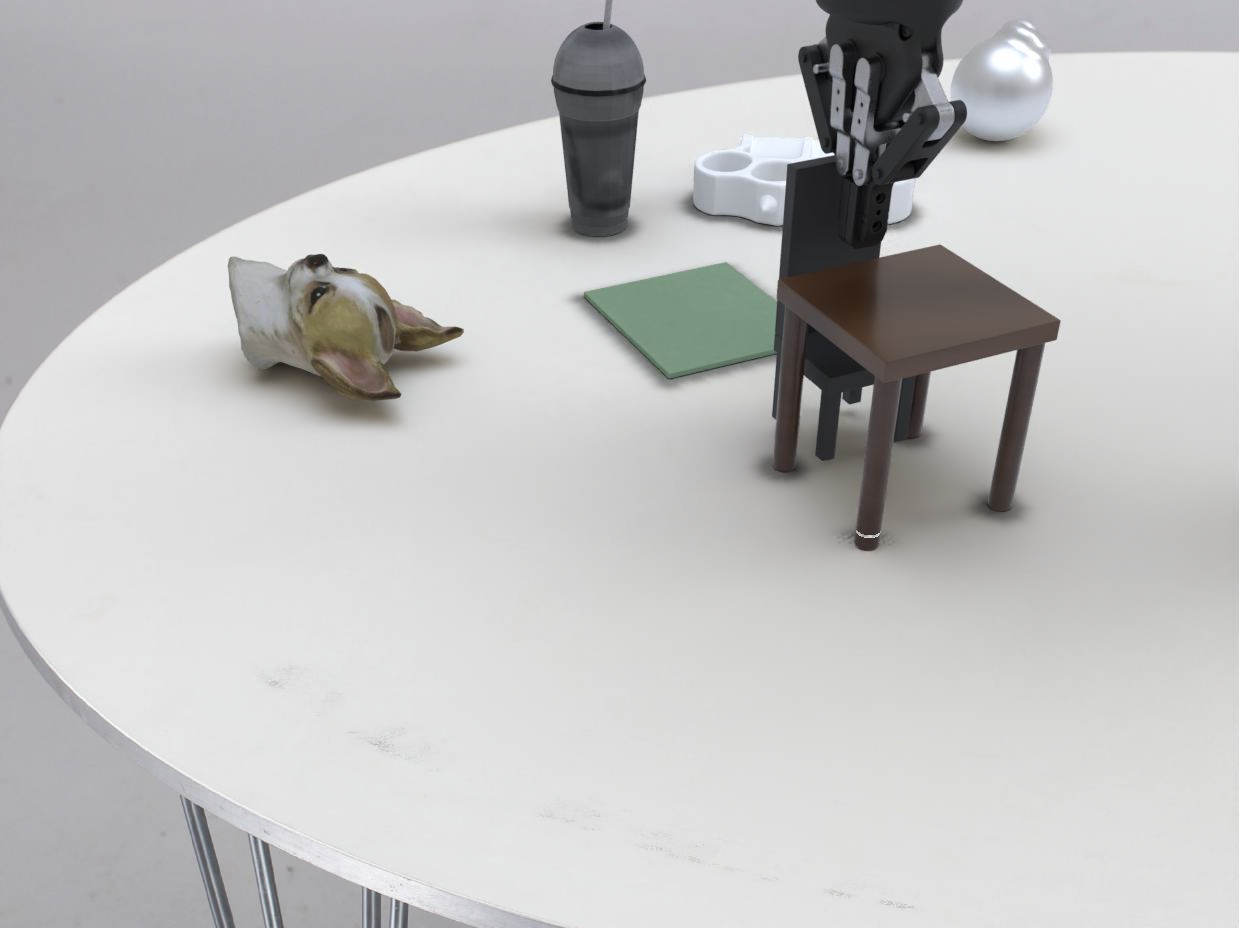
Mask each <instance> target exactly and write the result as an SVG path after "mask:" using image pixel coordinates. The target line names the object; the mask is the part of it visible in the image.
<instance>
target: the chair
mask: <svg viewBox="0 0 1239 928" xmlns="http://www.w3.org/2000/svg"><path fill="white" fill-rule="evenodd" d="M841 185H842V175H840V174H839V173H838V171H837V168H836V156H835V155H832V156H827V157H822V158H817V159H811V160H806V161H801V162H796V163H790V164H787V176H786V189H785V203H784V216H783V225H782V231H781V245H780V259H779V271H778V280H779V279H783V278H788V277H792V276H797V275H802V274H806V273H811V272H815V271H820V270H825V269H829V268H834V267H838V266H843V265H848V264H852V263H857V262H861V261H866V260H870V259H875V258H880V257H881V249H882V248H881V247H882V242H881V243H879V244H878V245H874V246H869V247H864V248H860V249H854V248H853V247H851V246H850V245H848V244H847V243H846V242H844V241H843V240H841V239H840V238H839V237H838V225H839V220H838V213H839V208H840V206H839V204H840V200H841V199H840V194H841ZM776 302H777V310H776V324H775V338H774V351H775V352H777V353H776V357H775V358H776V359H775V370H774V371H775V372H774V385H773V395H772V396H773V397H772V409H771V417H772V418H773V419H774V420H775V421H776V415H777V402H778V389H779V377H780V364H781V351H782V338H783V325H784V313H785V305H784V304H783V303H781V302H780V301H779V300H778V299H777V298H776ZM804 377H805V378H806V379H807V380H808V381H810V382H811V383H812V384H813V385H815V387H817V388H818V389H819V390H820V401H819V412H818V421H817V430H816V439H815V441H816V442H815V452H814V455H815V457H816V458H817V459H818V460H819V461H820V462H822V463H823V462H827V461H832V460H834V459H836V458H835V457H836V449H837V438H838V428H839V422H840V421H839V420H840V411H841V401H842V400H843V401H844V402H845V403H846V404H847V405H849V406H850V405H853V404H858V403H861V402H862V394H863V388H866V387H870V386H874V379H875V376H874V375H873V374H872V373H871V372H869V371H868V370H867V369H865V368H864V367H863V366H862V365H860V364H859V363H858V362H856V361H855V360H854V359H853V358H851V357H850V356H849V355H848V354H846V353H845V352H844V351H842V350H841V349H840V348H839V347H837V346H836V345H835V344H834V343H832V342H831V341H830V340H828V339H827V338H826V337H825V336H823V335H822V334H821V333H820V332H818V331H817V330H816V329H814V328H813V327H812V326H811V325H809V324H808V334H807V345H806V356H805V367H804ZM915 379H916V375H915V376H911V377H907V378H903V379H902V382H901V389H900V397H899V404H898V411H897V418H896V426H895V433H894V440H893V443H895V444H896V443H900V442H903V441H906V440H908V437H907V434H908V427H909V421H910V414H911V407H912V400H913V393H914V386H915Z"/></svg>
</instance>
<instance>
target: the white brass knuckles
mask: <svg viewBox="0 0 1239 928" xmlns="http://www.w3.org/2000/svg"><path fill="white" fill-rule="evenodd" d="M832 155H834V153H828V154H825V153H824V152H823V151H822V149H821V146H820V142H819V139H814V138H813V137H811V136H804V137H803V138H794V137H793V138H792V137H772V136H771V137H769V136H753V135H752V134H748V133H747V134H746V133H744V134H743V135H740V137H739V143H738V146H736V147H734V148H731V149H720V150H713V151H710V152H706V153H703V154H701V155H700V156H698V157H697V158H696V159H695V161H694V165H693V184H692V185H693V186H692V187H693V188H692V189H693V190H692V202H693V205H694V206H695V208H696V209H698V210H699V211H701V212H702V213H704V214H707V215H711V216H734V217H740V218H744V219H748V220H751V222H755V223H757V224H765V225H771V226H777V227H779V226H780V227H781V226H783V216H784V203H785V189H786V176H787V164H790V163H796V162H801V161H806V160H811V159H817V158H822V157H827V156H832ZM916 179H917V178H914V179H909V180H904V181H899V182H895V183H894V185H893V187H892V194H891V202H890V210H889V213H888V214H889V218H888V220H887V221H888V225H889V224H895V223H898V222H902V221H903V220H906V219H907V218H909V216H910V215H911V213H912V210H913V203H914V195H915V188H916Z"/></svg>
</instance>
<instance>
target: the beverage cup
mask: <svg viewBox="0 0 1239 928" xmlns="http://www.w3.org/2000/svg"><path fill="white" fill-rule="evenodd" d="M613 1H614V0H605V3H604V5H605V6H604V14H603V21H592V22H588V23H584V24H582V25H580V26H578V27H576V28H574V29H573V30H572V31H571V32H570V33H569V34H568V35H567V36H566V37H565V39H564V40H563V41H562V43H561V44H560V46H559V48H558V49H557V51H556V52H557V53H556V55H555V58H554V62H553V67H552V76H551V79H550V83H551V85H552V87H553V94H554V99H555V104H556V107H557V112H558V115H559V125H560V135H561V144H562V152H563V163H564V171H565V172H564V173H565V181H566V189H567V200H568V207H569V211H570V217H571V227H572V230H574V231H575V232H577V233H578V234H581V235H584V236H589V237H609V236H614V235H617V234H620V233H623V232H624V231H625V230H626V229H627V227H628V218H629V212H630V208H631V201H632V200H631V198H632V187H633V179H634V177H633V176H634V168H635V167H634V166H635V157H636V155H635V154H636V145H637V135H638V125H639V124H638V123H639V112H640V109H641V107H642V101H643V96H644V91H645V84H647V83H646V82H647V77H646V74H645V66H644V62H643V61H644V60H643V58H642V55H641V52H640V49H639V48H638V46H637V45H636V43H635V41H634V40H633V38H632V37H631V35H630V34H629V33H628V32H626V31H625V30H624V29H622V28H620V27H619V26H617V25H615V24H613V23H611V19H612V10H613Z"/></svg>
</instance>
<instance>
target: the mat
mask: <svg viewBox="0 0 1239 928" xmlns="http://www.w3.org/2000/svg"><path fill="white" fill-rule="evenodd" d="M583 297H584V299H586V300H587V301H588V302H589V303H590V304H591V305H592V306H593V307H594V308H595V309H596V310H597V311H598V312H599V313H600V314H601V315H602V316H603V317H604V318H605V319H606V320H608V321H609V322H610V323H611V325H613V326H614V327H615V328H616V330H618V331H619V332H620V333H621V334H622V335H623V336H624V338H626V339H627V340H628V341H629V342H630V343H631V344H632V345H633V346H634V347H636V349H638V351H639V352H641V353H642V355H644V356H645V357H646V358H647V359H648V360H649V361H650V362H651V363H652V364H653V365H654V366H655V367H656V368H657V369H658V370H659V371H660V372H661V373H662V374H664V375H665V376H666V378H667V379H669V380H671V379H674V378H679V377H681V376H682V377H683V376H687V375H691V374H695V373H700V372H703V371H707V370H713V369H717V368H720V367H721V368H722V367H724V366H729V365H733V364H737V363H742V362H746V361H750V360H754V359H760V358H763V357H767V356H771V355H777V352H775V351H774V338H775V324H776V310H777V300H775V299H774V298H773V297H771V296H770V295H769V294H767V292H765V291H764V290H763V289H761V288H760V287H759V286H757V285H756V284H755V283H754V282H752V281H751V280H750V279H749V278H748V277H746V276H744V274H743V273H741V272H740V271H738V269H736V268H735V267H733V266H732V265H731V264H729V262H727V261H724V262H721V263H715V264H710V265H706V266H701V267H696V268H691V269H686V270H682V271H677V272H672V273H669V274H668V273H667V274H663V275H658V276H654V277H649V278H645V279H639V280H634V281H629V282H625V283H620V284H615V285H611V286H606V287H601V288H595V289H591V290H588V291H584V292H583Z"/></svg>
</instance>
